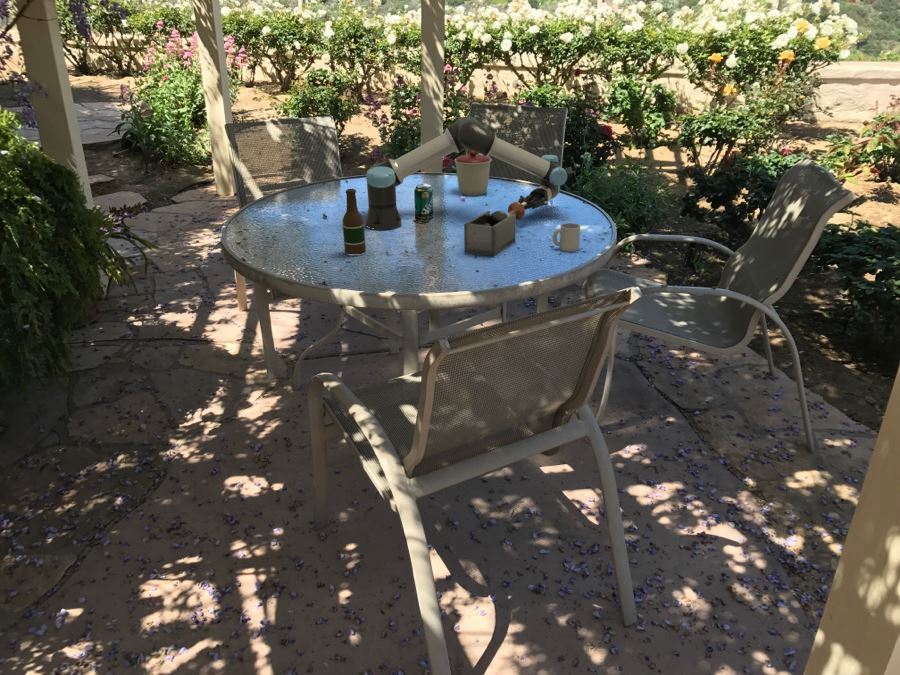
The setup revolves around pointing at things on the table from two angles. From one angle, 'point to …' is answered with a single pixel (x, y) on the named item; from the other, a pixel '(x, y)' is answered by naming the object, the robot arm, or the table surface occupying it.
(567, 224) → the cup
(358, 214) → the beer bottle
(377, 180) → the robot arm
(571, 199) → the table surface
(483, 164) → the canister
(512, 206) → the plunger
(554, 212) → the table surface
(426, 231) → the table surface
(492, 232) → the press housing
